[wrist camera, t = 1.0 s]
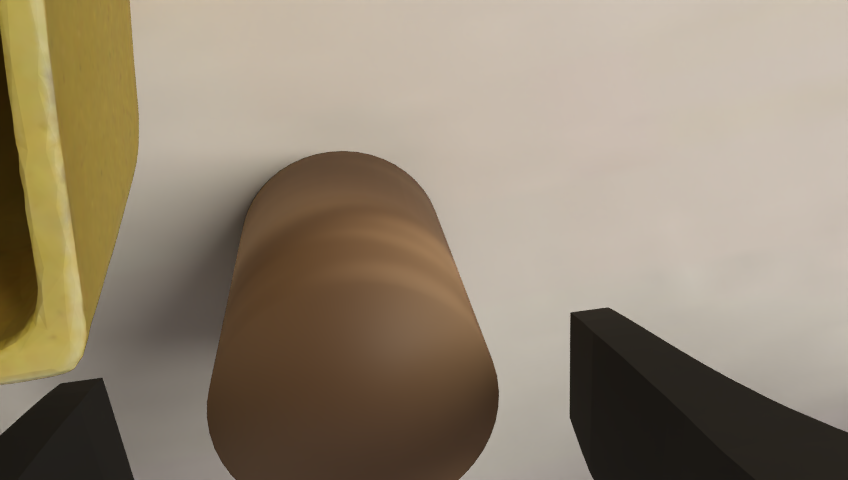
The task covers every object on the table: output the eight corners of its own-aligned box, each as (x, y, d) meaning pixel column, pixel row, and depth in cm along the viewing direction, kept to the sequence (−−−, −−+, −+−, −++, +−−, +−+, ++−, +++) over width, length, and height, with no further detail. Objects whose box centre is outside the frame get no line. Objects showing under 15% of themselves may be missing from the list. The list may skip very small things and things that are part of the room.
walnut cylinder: (433, 140, 16) (493, 264, 11) (445, 317, 18) (503, 499, 13) (224, 164, 16) (178, 305, 10) (260, 342, 18) (236, 541, 12)
